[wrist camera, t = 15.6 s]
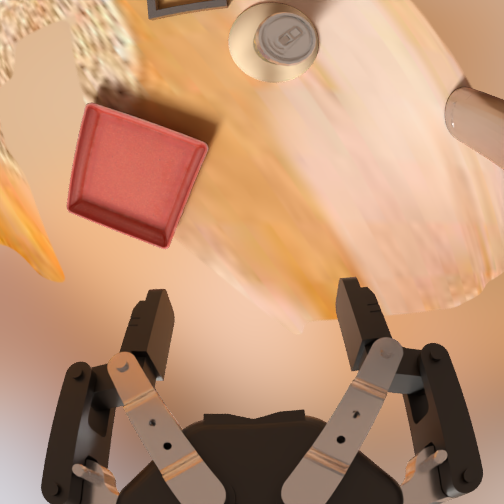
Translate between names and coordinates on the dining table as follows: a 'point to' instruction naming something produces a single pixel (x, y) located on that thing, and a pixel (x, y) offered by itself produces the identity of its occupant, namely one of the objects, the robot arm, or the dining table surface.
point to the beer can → (284, 39)
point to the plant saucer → (132, 174)
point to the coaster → (244, 49)
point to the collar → (182, 8)
